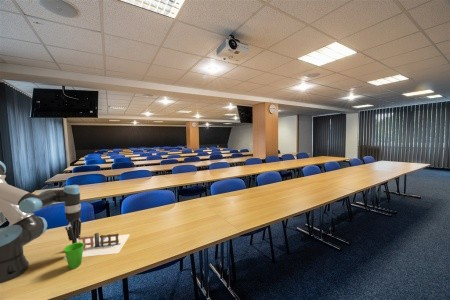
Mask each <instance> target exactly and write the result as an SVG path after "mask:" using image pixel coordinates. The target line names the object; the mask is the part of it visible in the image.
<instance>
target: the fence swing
mask: <svg viewBox="0 0 450 300" xmlns="http://www.w3.org/2000/svg"><path fill="white" fill-rule="evenodd" d="M93 238H95V236H94V235H90V236H89V235H87V236H84V235H83V236H80V238H78V240H79V241H81V240H82V241H83V243H84V246H83V248H85V247H86V245H91V247H93V246H94V242H93ZM85 239H90V243H86V240H85Z"/></svg>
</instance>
